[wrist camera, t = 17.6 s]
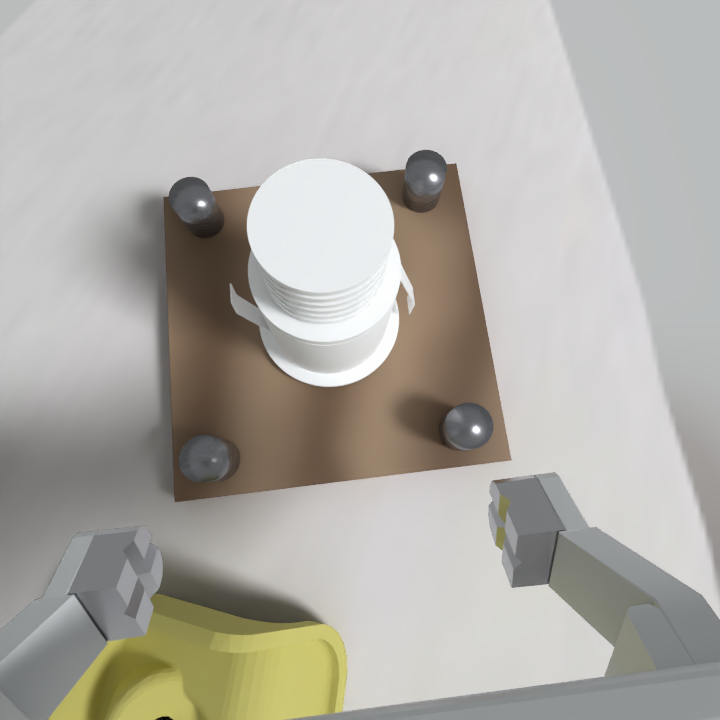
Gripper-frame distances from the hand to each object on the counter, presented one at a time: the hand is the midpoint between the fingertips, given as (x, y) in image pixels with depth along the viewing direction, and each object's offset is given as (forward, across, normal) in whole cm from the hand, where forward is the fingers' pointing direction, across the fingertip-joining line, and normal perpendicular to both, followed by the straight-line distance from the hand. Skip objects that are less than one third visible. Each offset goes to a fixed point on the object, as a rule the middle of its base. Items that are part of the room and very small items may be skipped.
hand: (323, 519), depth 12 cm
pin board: (+15, 0, +3) cm, 15 cm away
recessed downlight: (+14, 0, +2) cm, 15 cm away
